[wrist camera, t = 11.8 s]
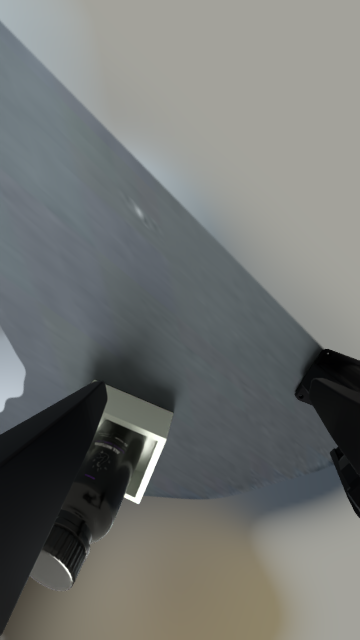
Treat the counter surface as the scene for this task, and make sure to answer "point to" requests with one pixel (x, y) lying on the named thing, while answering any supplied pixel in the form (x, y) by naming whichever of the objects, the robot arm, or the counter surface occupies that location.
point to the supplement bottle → (89, 505)
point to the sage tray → (145, 422)
